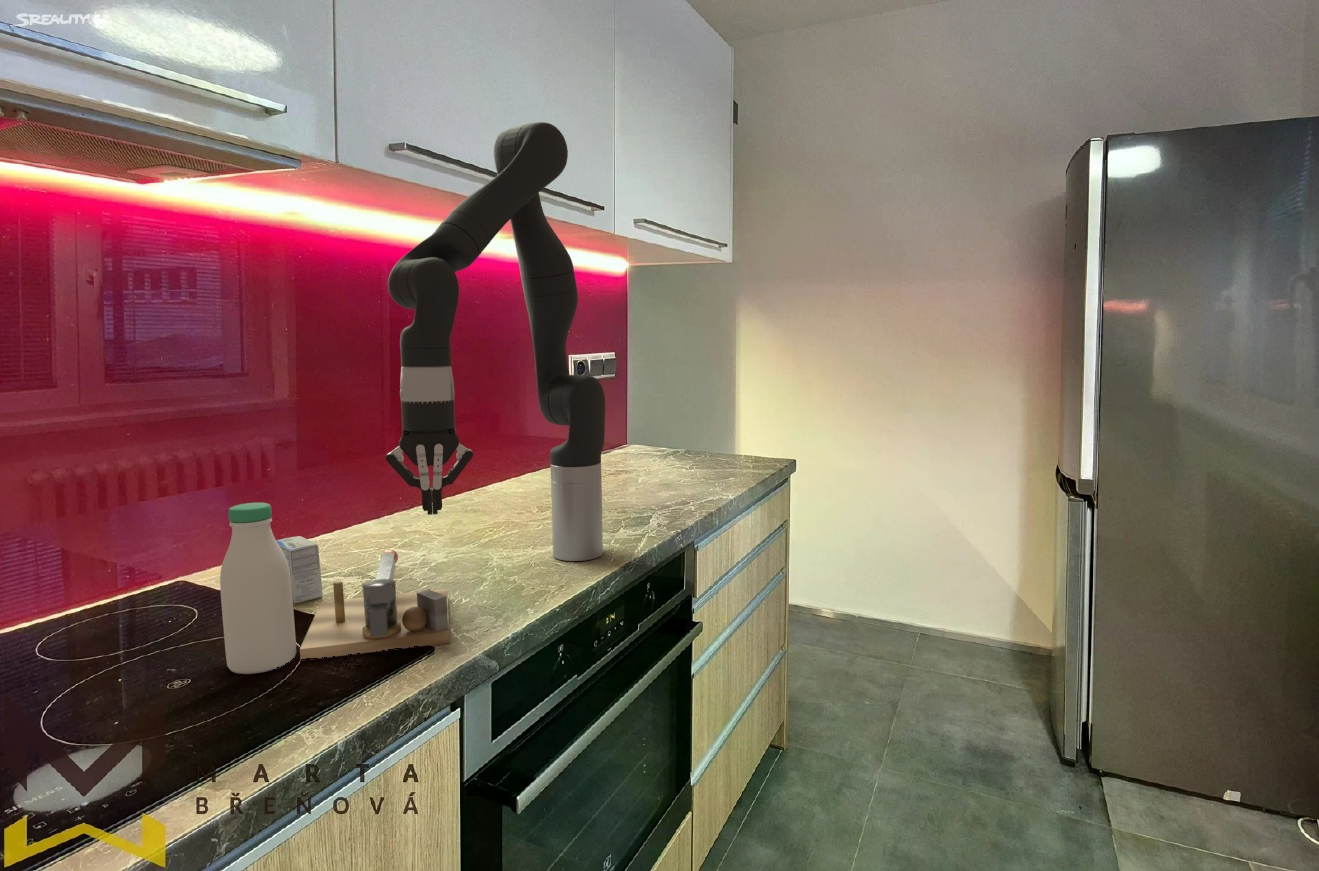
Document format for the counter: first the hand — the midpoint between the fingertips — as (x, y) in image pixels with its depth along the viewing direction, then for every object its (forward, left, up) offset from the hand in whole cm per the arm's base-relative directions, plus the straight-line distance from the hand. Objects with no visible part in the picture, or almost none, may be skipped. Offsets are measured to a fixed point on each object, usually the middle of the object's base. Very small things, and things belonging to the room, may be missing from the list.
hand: (432, 513), depth 112 cm
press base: (+7, -7, -14) cm, 17 cm away
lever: (+5, -7, -11) cm, 14 cm away
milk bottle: (+15, -21, -14) cm, 29 cm away
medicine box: (-11, -21, -14) cm, 28 cm away
